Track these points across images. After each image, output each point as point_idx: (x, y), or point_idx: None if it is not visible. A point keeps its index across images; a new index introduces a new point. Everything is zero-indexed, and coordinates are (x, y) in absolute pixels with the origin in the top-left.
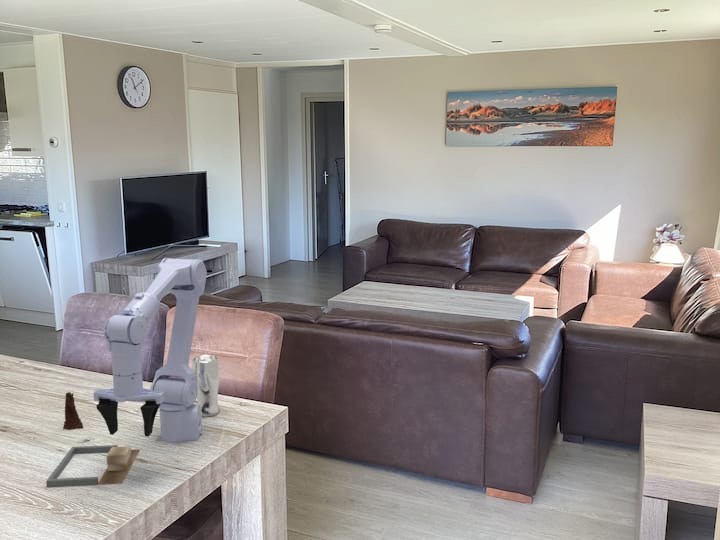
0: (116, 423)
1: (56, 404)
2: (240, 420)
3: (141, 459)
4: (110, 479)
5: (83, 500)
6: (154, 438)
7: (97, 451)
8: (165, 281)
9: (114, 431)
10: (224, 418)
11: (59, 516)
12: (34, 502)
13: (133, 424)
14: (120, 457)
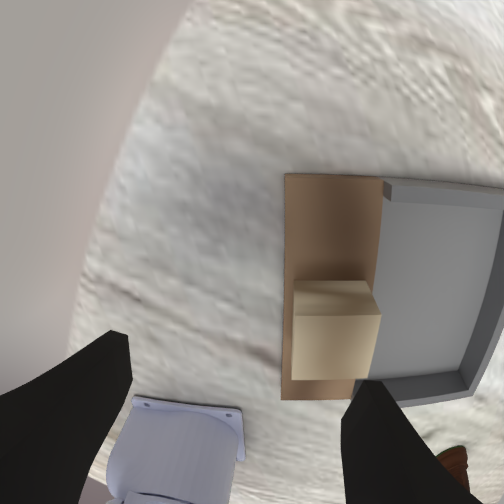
0: (348, 458)
1: None
2: (102, 455)
3: (271, 363)
4: (341, 213)
5: (406, 113)
6: (263, 444)
7: (409, 389)
8: None
9: (357, 405)
10: None
11: (442, 33)
12: None
13: (328, 482)
14: (319, 310)
